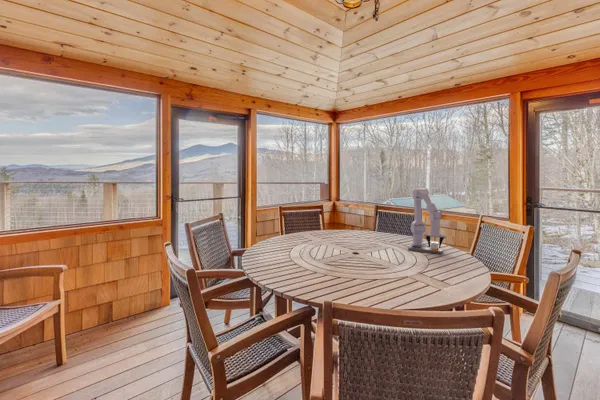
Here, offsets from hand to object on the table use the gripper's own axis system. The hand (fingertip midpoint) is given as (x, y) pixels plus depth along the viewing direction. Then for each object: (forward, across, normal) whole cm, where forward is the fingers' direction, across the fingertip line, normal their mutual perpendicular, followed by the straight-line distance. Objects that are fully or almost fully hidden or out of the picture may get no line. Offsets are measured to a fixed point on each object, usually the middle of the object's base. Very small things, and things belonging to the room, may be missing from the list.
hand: (434, 247), depth 214 cm
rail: (+3, -6, 0) cm, 7 cm away
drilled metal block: (+3, 0, 0) cm, 4 cm away
